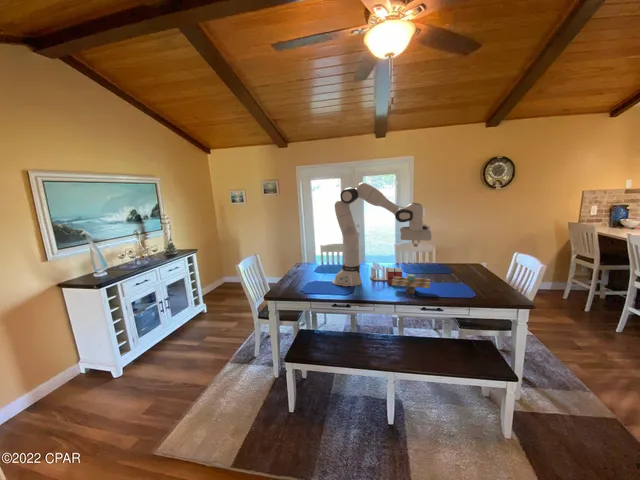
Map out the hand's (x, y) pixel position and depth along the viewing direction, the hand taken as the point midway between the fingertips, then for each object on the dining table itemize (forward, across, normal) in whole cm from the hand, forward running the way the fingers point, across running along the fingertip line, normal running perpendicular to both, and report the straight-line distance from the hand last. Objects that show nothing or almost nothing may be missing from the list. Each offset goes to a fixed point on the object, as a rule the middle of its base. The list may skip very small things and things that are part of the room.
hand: (415, 246), depth 188 cm
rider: (+22, -2, -11) cm, 25 cm away
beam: (+29, -2, -11) cm, 31 cm away
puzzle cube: (+29, -15, +5) cm, 33 cm away
